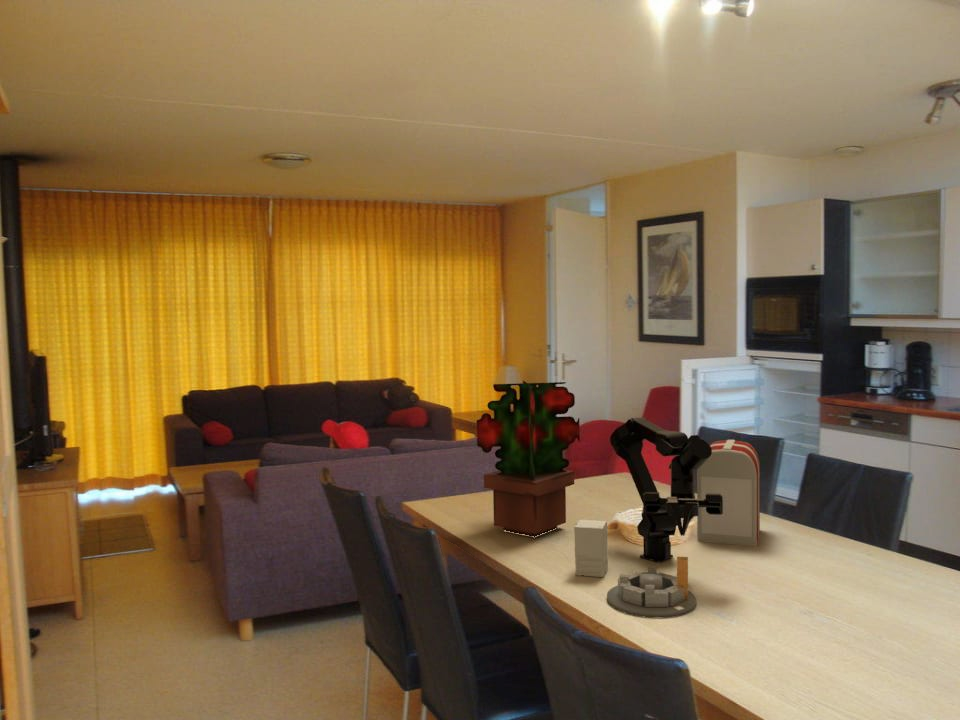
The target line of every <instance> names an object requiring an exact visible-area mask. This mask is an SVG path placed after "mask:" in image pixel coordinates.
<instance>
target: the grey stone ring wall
mask: <svg viewBox="0 0 960 720" xmlns="http://www.w3.org/2000/svg"><path fill="white" fill-rule="evenodd" d="M657 569H658V567H651V566H650V567H649V566H648V567H647V571H635V572H630V573H626V574H625V573H620V574H619V577H618V578H617V586H618V593H619V595H620V598H621V599H623V601H626V602H629V603H632V604H635V605H638V606H644V605H645V607H668V605H669V606H673V605H676V604H678V603H680V602H682V601H684V599H686V600H688V591H689V557H688V556H676V576H674V575H671V574H669V573H668V574H667V573H664V572H657ZM643 574H657V575H660V576H661V577H662V590H655V585H647V584H645V589H641V588H640V576H641V575H643Z"/></svg>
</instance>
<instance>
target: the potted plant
mask: <svg viewBox="0 0 960 720" xmlns="http://www.w3.org/2000/svg"><path fill="white" fill-rule="evenodd" d="M564 384H567V381H563V382H562V381H559V382H557V381H555V382H553V381H552V382H529V383H528V382H527V381H525V380H522V383H521V382H520V383H518V382H517V383H494V384H493V386H492V388H493V390H494V391H496V392H497V393H505V394H502V395H501V396H500V399H499V400H490V401H488V402H487V405H486V406H487V409H489V410H490V411H492V412H493V418H492V416H491V414H490V413H489V412H485V413H482V415H481V416H480V419H477V420H476V447H478V448H481V450H482V452H483V453H485V454H489V453H490V452H491V451H492V450H493V448H495V447H500V448H498V449H496V450H495V452H494V456H495V458H497V459H499V461H496V463H495V465H494V468H495V469H496V471H493V472H490V473H486V474H483V488H484V489H489V490H492V491H493V492H492V493H493V497H492V499H493V501H492V502H493V505H492V506H493V526H495V527H499V528H502V531H503V530H506V531H510V532H514V533H519V534H525V535H529V536H534V537H535V536H537V535H540V534H542V533H545V532H548V531H550V530H553V529H555V528H557V529H558V526H561V525H563V524H565V523H567V507H566V505H567V499H566V498H567V497H566V495H567V493H566V488H567V487H570V486H572V485H575V471H573V470H566V468H568V467H569V465H570V462H569V459H567V458H565V457H564V455H563V451H566V450H567V449H569V447H570V445H572V444H573V443H575V441H576V439H577V442H579V443H580V442H581V440H580V439H581V438H580V431H581V429H580V417H578V419H577V421H576V420H575V418H574V417H573V416H557V415H565V414H567V413H568V411H569V410H570V409H571V408H573V407H574V406H575V404H576V402H575V401H576V400H575V398H576V397H575V394H574V393H573V392H570V391H569V390H568V387H566V386H557V385H564ZM513 386H518V387H519V390H518V391H519V393H518V392H517V390H516V389H515V388H512V387H513ZM518 394H519V396H518ZM518 397H519V398H518ZM511 405H512V409H511ZM512 410H513V411H512Z"/></svg>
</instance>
